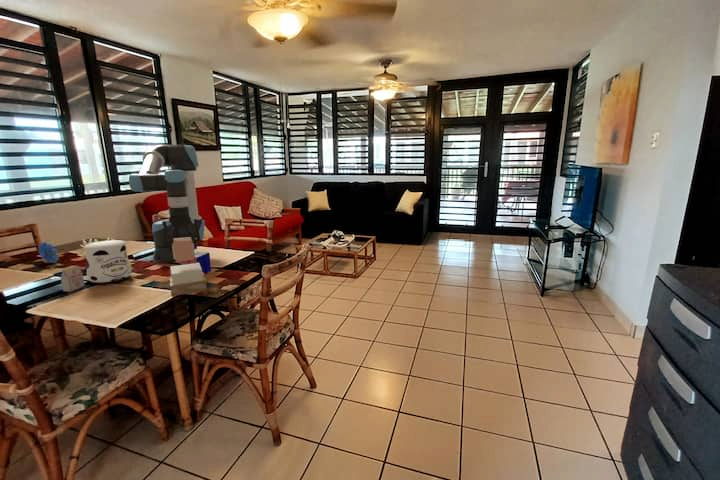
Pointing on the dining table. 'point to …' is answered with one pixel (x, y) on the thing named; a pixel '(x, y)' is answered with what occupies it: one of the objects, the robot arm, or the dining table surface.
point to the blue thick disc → (48, 252)
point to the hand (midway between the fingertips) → (184, 257)
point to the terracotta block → (183, 249)
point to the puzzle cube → (200, 261)
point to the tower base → (188, 287)
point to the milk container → (107, 261)
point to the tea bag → (72, 279)
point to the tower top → (186, 273)
